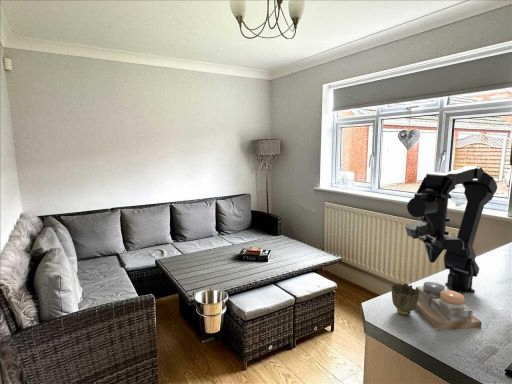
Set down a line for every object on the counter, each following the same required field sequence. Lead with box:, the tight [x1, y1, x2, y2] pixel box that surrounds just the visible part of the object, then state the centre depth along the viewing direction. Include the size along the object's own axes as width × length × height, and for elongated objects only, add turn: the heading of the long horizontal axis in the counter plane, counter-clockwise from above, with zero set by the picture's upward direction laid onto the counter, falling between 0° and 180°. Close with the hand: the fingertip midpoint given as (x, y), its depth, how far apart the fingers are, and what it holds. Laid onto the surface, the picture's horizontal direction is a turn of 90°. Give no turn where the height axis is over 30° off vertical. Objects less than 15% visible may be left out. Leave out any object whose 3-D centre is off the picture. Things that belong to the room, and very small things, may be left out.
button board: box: [414, 285, 483, 331], centre depth 90 cm, size 12×16×5 cm
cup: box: [391, 282, 420, 317], centre depth 90 cm, size 8×7×8 cm
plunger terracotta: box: [440, 289, 465, 309], centre depth 86 cm, size 6×6×4 cm
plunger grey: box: [422, 281, 446, 295], centre depth 94 cm, size 6×6×4 cm
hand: (431, 262), depth 96 cm, fingers closed
